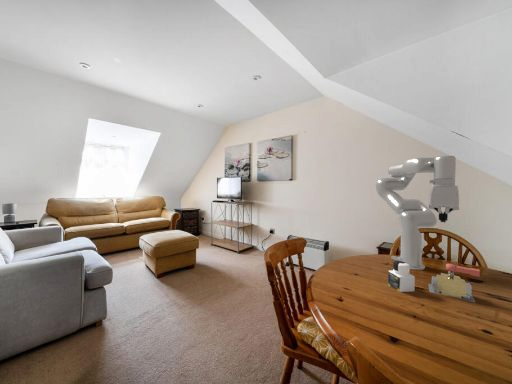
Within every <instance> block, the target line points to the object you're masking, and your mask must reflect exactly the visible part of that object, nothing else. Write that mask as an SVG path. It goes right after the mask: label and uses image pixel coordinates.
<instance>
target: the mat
mask: <svg viewBox="0 0 512 384" xmlns="http://www.w3.org/2000/svg"><path fill="white" fill-rule="evenodd" d="M428 290H429V293H433V294H437V295H442V296H445V297H449V298H454V299H459V300H462V301H467V302H471V303H476V301H475V298H474V297H473V294H471V295H470V300H468V299H463V297H461V299H460V298H456V297H452V296H447V295H443V294H442V293H441V291H440V293H437V292H433V287H432V283H428Z"/></svg>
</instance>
